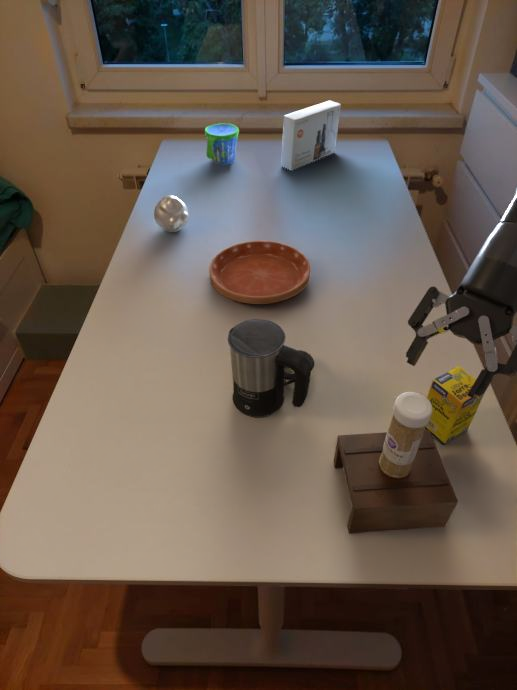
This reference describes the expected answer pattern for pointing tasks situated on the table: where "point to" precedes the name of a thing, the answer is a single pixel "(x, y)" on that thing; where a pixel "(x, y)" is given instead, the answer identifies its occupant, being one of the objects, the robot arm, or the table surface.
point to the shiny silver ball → (171, 214)
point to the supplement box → (451, 405)
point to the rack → (394, 486)
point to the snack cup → (222, 142)
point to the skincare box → (309, 134)
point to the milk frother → (265, 368)
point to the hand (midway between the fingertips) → (439, 380)
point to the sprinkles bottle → (404, 433)
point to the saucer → (259, 272)
